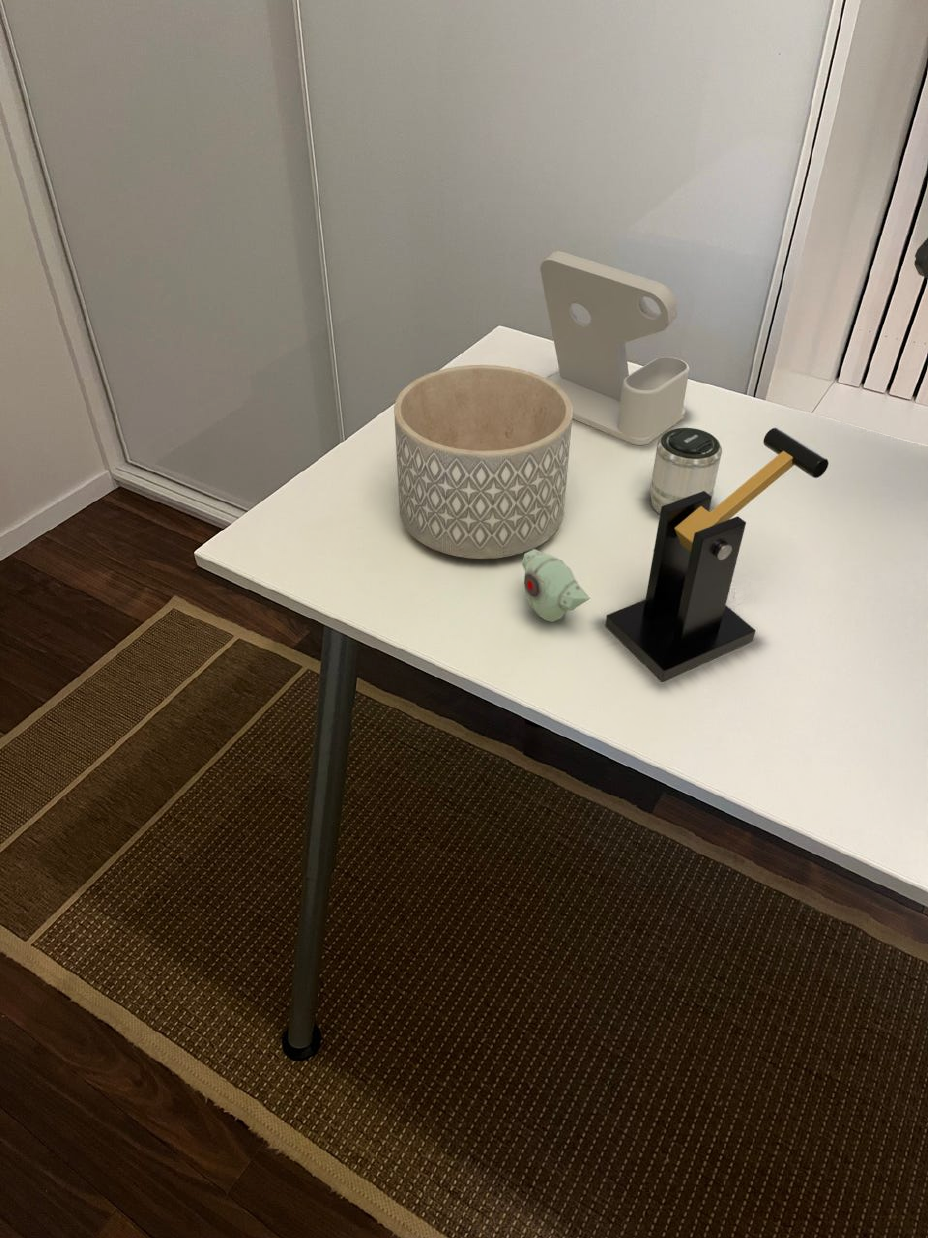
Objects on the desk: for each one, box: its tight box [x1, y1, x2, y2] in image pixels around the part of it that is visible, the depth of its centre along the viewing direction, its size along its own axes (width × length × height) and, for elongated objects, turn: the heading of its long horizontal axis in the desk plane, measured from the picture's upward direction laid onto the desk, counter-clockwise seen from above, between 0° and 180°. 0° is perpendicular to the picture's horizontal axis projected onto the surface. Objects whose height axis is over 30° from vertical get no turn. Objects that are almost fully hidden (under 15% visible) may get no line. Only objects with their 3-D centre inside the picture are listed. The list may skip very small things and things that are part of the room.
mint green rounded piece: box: [521, 548, 591, 622], centre depth 81 cm, size 8×4×7 cm, turn 33°
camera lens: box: [650, 427, 723, 515], centre depth 94 cm, size 6×6×8 cm
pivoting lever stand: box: [605, 491, 756, 683], centre depth 78 cm, size 10×8×13 cm
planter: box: [393, 364, 573, 560], centre depth 91 cm, size 16×16×13 cm
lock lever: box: [675, 427, 830, 552], centre depth 75 cm, size 12×6×2 cm, turn 120°
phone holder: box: [539, 250, 690, 446], centre depth 106 cm, size 17×10×18 cm, turn 49°
